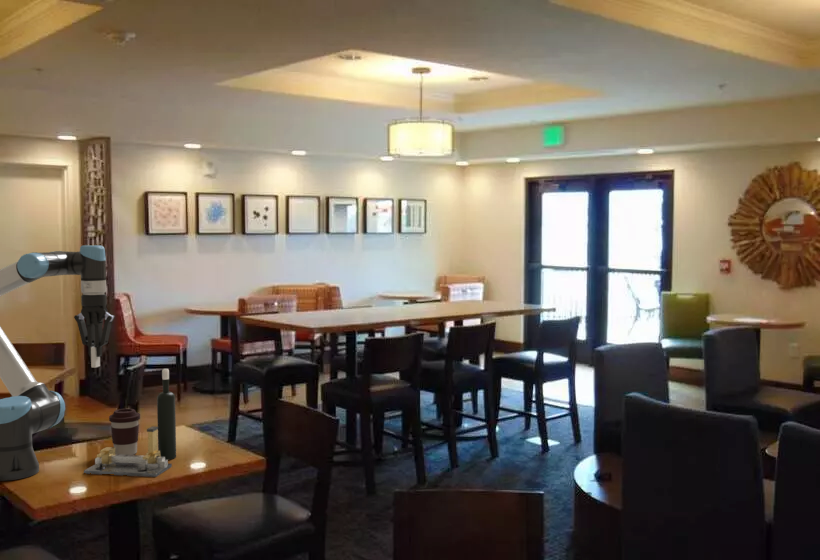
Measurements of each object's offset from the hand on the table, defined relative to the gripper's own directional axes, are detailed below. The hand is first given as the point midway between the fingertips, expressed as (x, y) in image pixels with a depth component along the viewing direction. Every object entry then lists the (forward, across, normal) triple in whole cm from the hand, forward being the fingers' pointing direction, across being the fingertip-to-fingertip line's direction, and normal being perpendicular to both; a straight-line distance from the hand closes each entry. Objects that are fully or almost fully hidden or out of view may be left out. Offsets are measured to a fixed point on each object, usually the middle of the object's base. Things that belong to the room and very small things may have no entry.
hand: (95, 366), depth 258 cm
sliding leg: (+31, +19, -3) cm, 37 cm away
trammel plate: (+32, +12, -3) cm, 35 cm away
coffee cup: (+33, +2, +14) cm, 36 cm away
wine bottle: (+33, +18, +12) cm, 39 cm away
